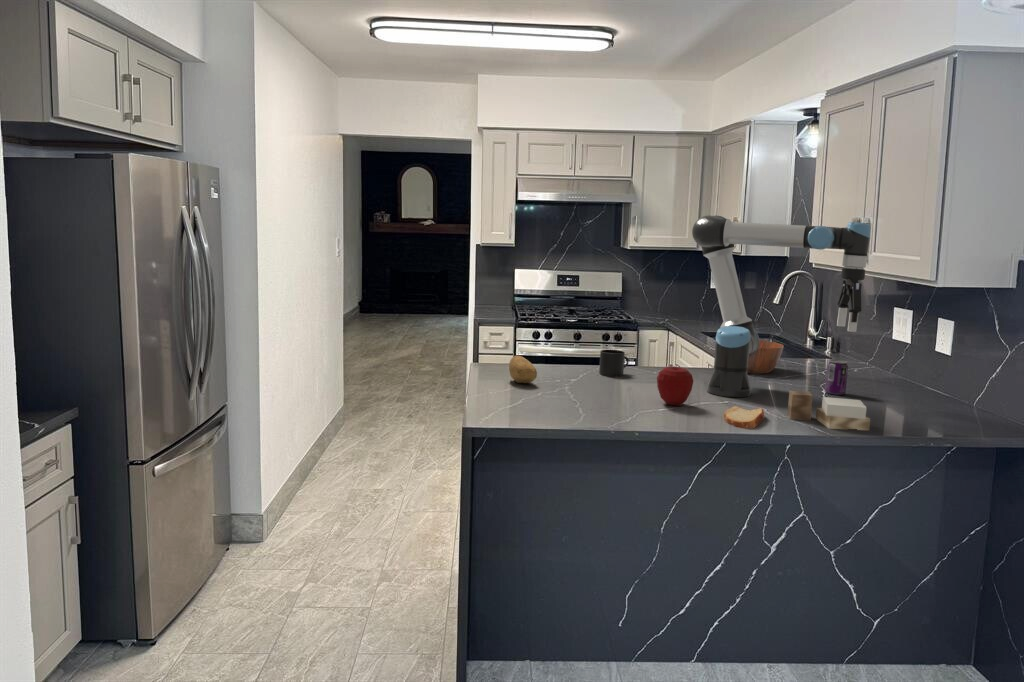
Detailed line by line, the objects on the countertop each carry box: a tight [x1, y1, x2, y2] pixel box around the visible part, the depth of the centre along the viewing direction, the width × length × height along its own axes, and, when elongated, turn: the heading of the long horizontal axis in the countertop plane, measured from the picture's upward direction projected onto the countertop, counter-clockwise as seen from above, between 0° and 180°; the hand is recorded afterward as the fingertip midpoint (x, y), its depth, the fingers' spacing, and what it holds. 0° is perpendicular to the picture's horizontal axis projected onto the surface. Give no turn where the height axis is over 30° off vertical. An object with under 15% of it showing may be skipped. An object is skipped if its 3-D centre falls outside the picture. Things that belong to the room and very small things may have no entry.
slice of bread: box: [723, 405, 765, 430], centre depth 248 cm, size 18×18×4 cm
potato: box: [508, 355, 538, 384], centre depth 290 cm, size 9×16×9 cm, turn 17°
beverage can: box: [824, 359, 849, 396], centre depth 292 cm, size 7×7×12 cm
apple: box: [656, 365, 694, 407], centre depth 264 cm, size 12×12×13 cm
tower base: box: [815, 407, 871, 431], centre depth 247 cm, size 12×12×4 cm
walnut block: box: [786, 390, 813, 421], centre depth 253 cm, size 6×6×8 cm
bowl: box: [747, 339, 785, 375], centre depth 334 cm, size 25×25×11 cm
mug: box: [598, 349, 629, 377], centre depth 314 cm, size 9×12×9 cm
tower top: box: [821, 396, 867, 419], centre depth 246 cm, size 11×11×4 cm
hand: (846, 328), depth 279 cm, fingers open, 13 cm apart
